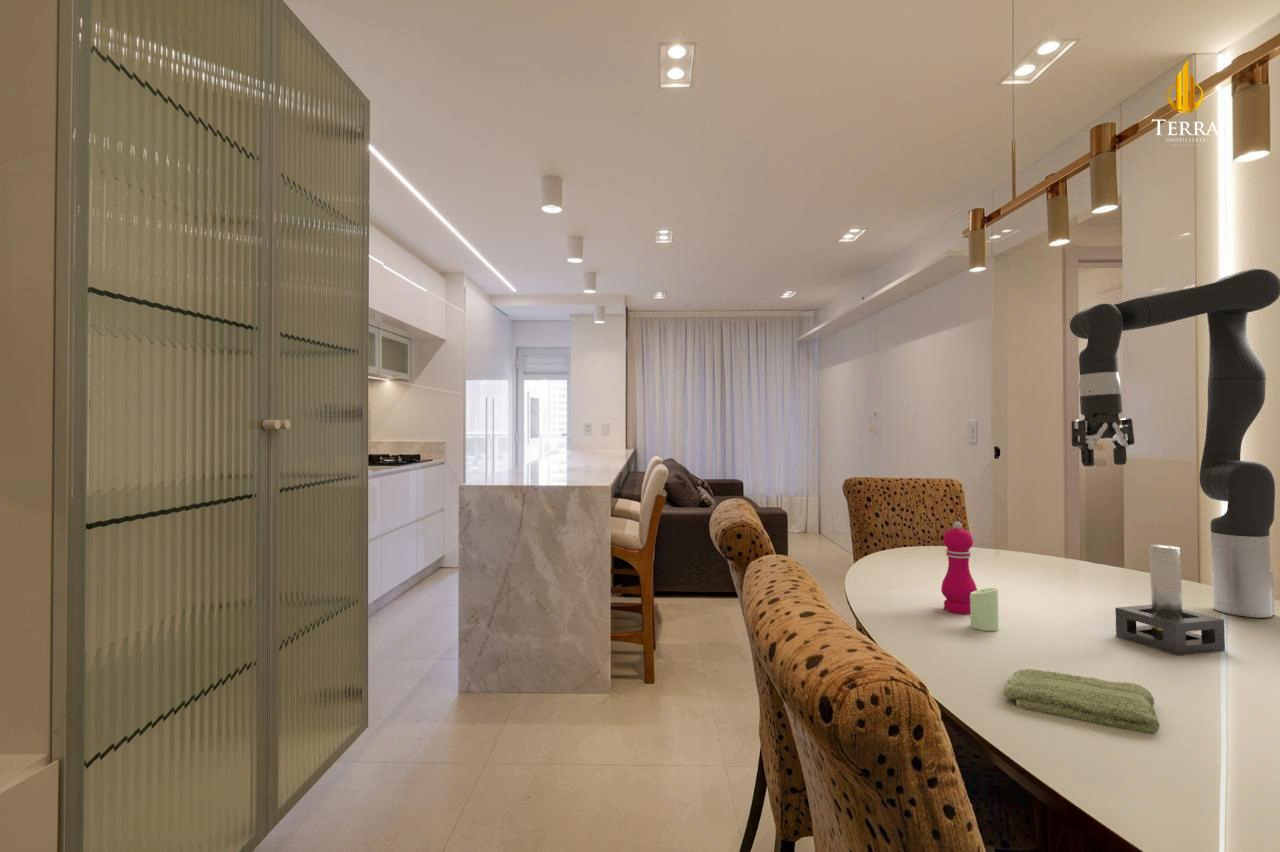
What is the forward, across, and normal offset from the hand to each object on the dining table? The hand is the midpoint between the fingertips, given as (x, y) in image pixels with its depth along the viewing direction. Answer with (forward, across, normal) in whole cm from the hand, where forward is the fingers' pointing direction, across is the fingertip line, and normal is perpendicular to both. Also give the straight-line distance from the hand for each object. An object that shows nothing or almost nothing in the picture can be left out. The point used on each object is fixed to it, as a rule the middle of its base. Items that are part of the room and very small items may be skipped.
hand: (1104, 465), depth 137 cm
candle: (+32, -37, -4) cm, 49 cm away
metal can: (+32, -11, -20) cm, 40 cm away
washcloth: (+32, -50, -39) cm, 71 cm away
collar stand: (+32, -11, -20) cm, 40 cm away
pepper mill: (+32, -33, +8) cm, 46 cm away
